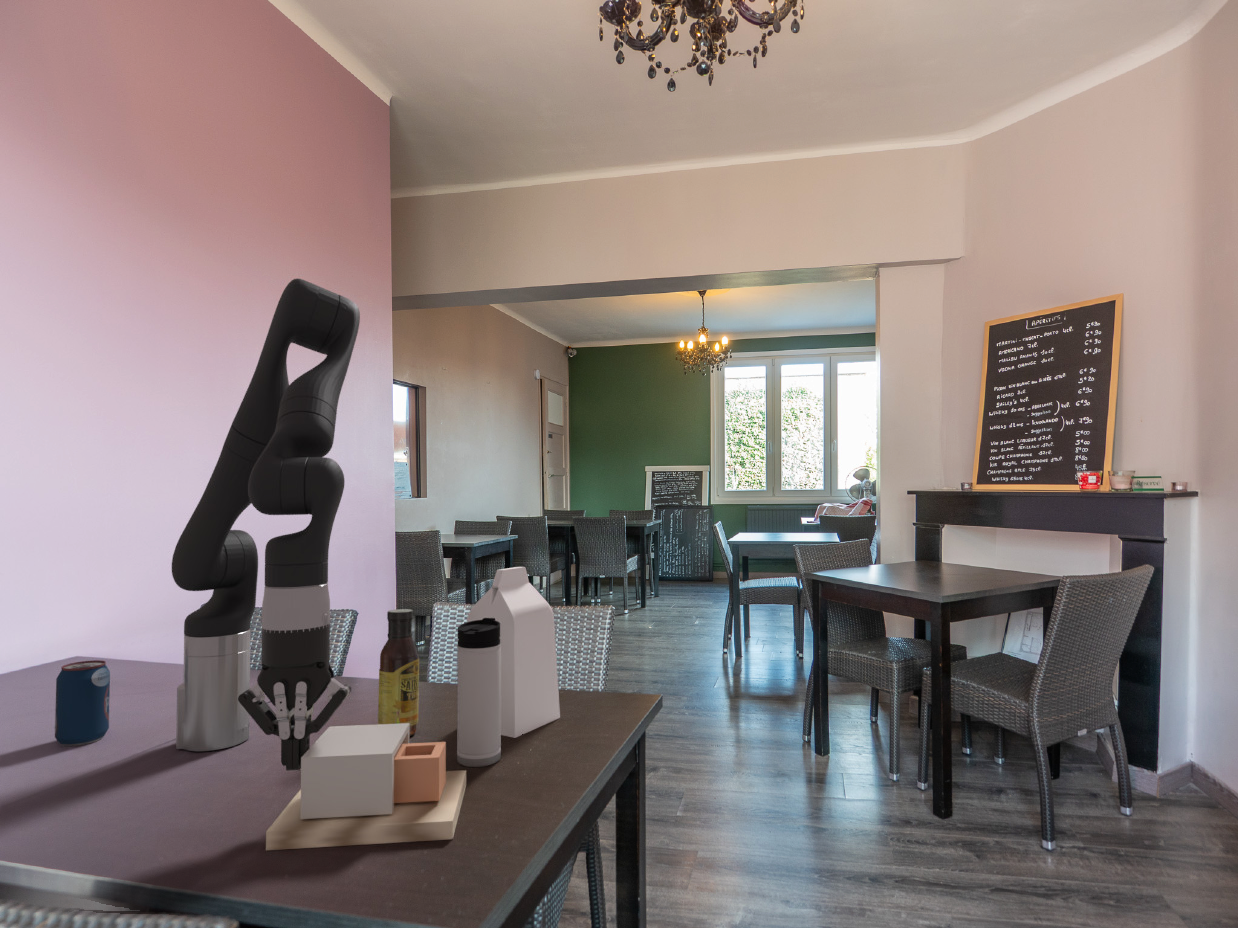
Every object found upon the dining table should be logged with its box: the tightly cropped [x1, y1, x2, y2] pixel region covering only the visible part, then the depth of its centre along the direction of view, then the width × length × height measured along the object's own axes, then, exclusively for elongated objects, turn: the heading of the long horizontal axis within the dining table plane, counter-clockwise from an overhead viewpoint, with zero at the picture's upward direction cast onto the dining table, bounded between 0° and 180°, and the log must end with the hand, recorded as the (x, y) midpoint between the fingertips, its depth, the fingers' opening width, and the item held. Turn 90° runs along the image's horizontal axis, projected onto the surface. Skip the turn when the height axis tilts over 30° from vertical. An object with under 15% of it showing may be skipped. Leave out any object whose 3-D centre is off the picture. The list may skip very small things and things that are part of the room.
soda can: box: [54, 659, 111, 747], centre depth 115 cm, size 7×7×12 cm
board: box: [265, 769, 467, 851], centre depth 87 cm, size 20×15×6 cm
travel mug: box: [456, 618, 502, 768], centre depth 105 cm, size 6×7×20 cm
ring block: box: [394, 741, 447, 803], centre depth 88 cm, size 6×6×5 cm
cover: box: [300, 723, 410, 819], centre depth 87 cm, size 10×11×7 cm
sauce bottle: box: [377, 608, 420, 737], centre depth 117 cm, size 6×6×20 cm
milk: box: [466, 566, 561, 739], centre depth 123 cm, size 12×12×26 cm
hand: (295, 767), depth 86 cm, fingers closed
